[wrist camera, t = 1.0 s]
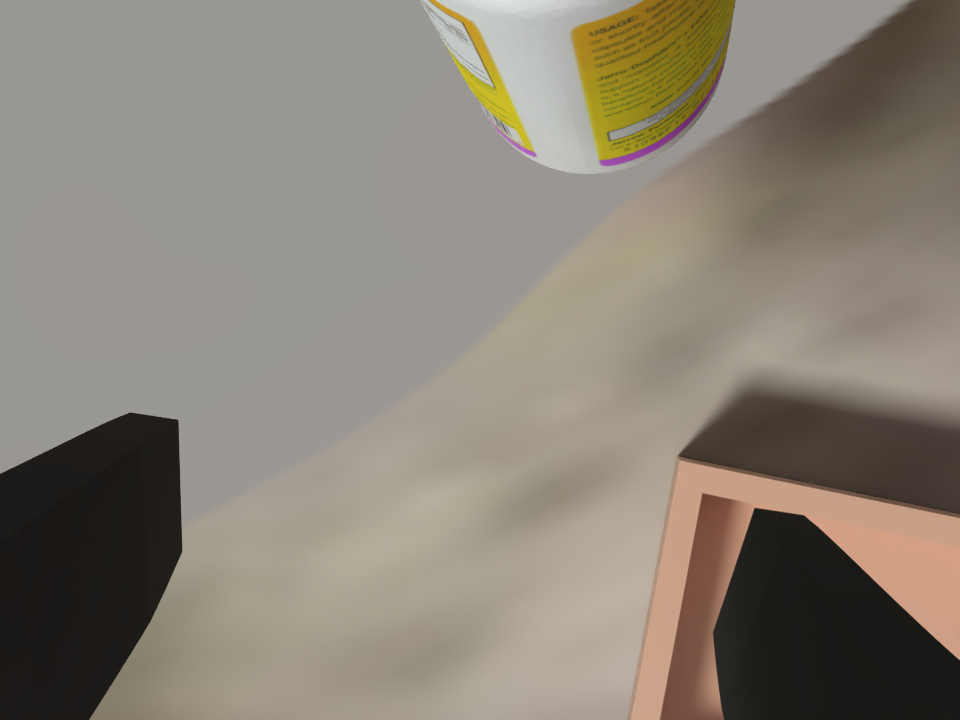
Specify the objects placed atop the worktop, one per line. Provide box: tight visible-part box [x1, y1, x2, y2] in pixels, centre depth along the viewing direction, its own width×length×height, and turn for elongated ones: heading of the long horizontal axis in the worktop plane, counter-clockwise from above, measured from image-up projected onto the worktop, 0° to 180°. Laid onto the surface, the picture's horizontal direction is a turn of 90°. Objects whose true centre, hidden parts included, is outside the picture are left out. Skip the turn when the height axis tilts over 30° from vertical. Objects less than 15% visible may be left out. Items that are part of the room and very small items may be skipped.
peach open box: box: [628, 456, 960, 720], centre depth 19 cm, size 8×10×3 cm
